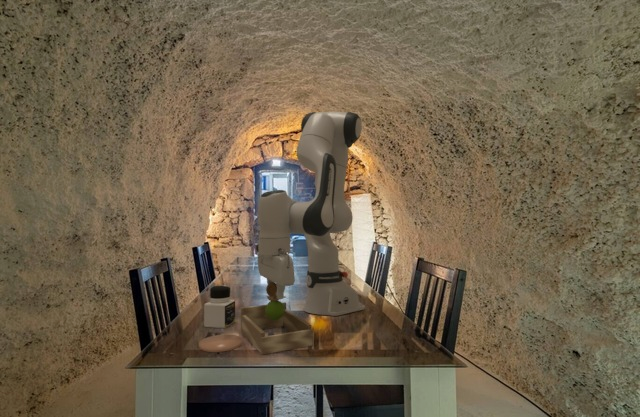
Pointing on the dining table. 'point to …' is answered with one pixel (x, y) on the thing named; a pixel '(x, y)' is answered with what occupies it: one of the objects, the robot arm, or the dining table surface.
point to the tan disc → (220, 343)
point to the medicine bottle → (219, 308)
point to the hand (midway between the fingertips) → (276, 296)
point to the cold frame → (258, 320)
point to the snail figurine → (273, 303)
